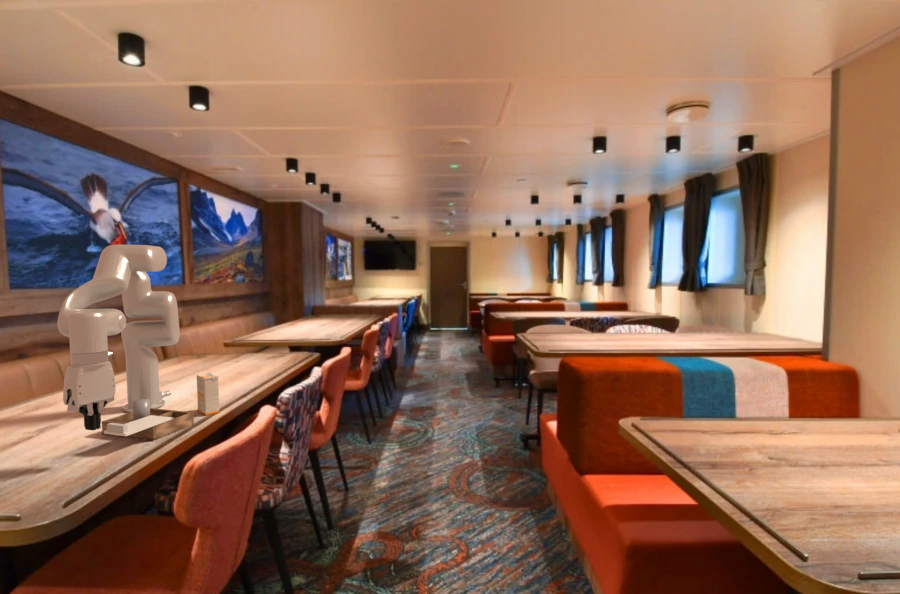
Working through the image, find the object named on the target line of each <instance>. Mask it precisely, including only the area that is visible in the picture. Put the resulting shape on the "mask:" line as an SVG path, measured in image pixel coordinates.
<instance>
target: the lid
mask: <svg viewBox="0 0 900 594" xmlns="http://www.w3.org/2000/svg"><path fill="white" fill-rule="evenodd" d="M169 420H171V417H163V416H154V415H150V416H147V417H144V418H141V419H138V420H135V421H132V422H129V423H126V424H118V423H109V424H107V430H106V431H104V434H111V435H110V436H112V435H119V436H128V435H131V434H134V433H136V432H139V431H142V430H145V429H147V428H150V427H153V426H155V425H158V424H161V423H164V422H166V421H169ZM104 434H103V435H104ZM119 436H118V437H119Z"/></svg>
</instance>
